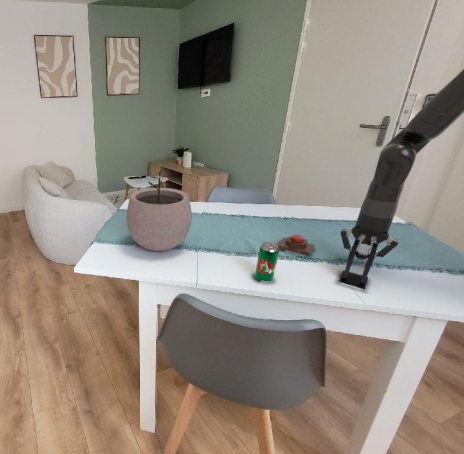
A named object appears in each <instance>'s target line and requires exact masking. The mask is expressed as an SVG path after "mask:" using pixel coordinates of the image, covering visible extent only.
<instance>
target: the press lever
mask: <svg viewBox="0 0 464 454" xmlns="http://www.w3.org/2000/svg"><path fill="white" fill-rule="evenodd" d="M370 251H371V246H369V245H367V244H360V245H359V247H358V249H357V250H356V253H355V256H354V257H356V258H357V259H358V260H362V261H365V260H367V259H368V257H369V254H370Z"/></svg>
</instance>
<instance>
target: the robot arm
mask: <svg viewBox="0 0 464 454" xmlns="http://www.w3.org/2000/svg"><path fill="white" fill-rule="evenodd" d="M463 114H464V68H463V69H462V70H461V71H460V72H459V73H458V74H457V75H456V76H455V77H454V78H453V79H451V80H450V81H449V82H448V83H447V84H445V86H444V87H442V89H440V90H439V91H438V92H437V93H436V94H435V95H434V96H433V97H432V98H430V100H429V101H428V102H427V103H426V104H425V105H424V106H422V108H420V110H419V111H418V112H417V113H416V114H415V115H414V116H413V118H412V119H411V120H410V121H409V122H408V123H407V124H406V126H405V127H404V128H403V129H402V130H401V131H399V133H397V134H396V135H395V136H394V137H393V138H392V139H390V141H389V142H388V143H387V144H386V145H385V146H384V147H383V148H382V149H381V150H380V152H379V156H378V160H377V162H376V163H377V164H376V167H375V171H374V175H373V178H372V179H371V181H370V184H369V186H368V189H367V192H366V195H365V197H364V199H363V201H362V204H361V207H360V210H359V213H358V216H357V219H356V223H355V225H354V227H352V228H351V229H346V228H342V229H341V231H340V237H341V242H342V245H343V248H344V249H345V250H348V251H349V253H348V256H347V260H348V259H349V256H350V253H351V249H350V246H351V245H352V244H350V239H349V237H350V236H351V235H352V236H353V237H354V239H357V240H360V241H359V244H358V247H357V249H359V247H360V244H362V245H367V246H371V247H370V250H369V253H370V252H371V249H372V246H373V243H376V244H378V245H380V244H381V243H383V242H385V241H386V245H385V246H384V247H383V248H382V249H381V250H378V251H379V252H378V254H377V255H375V256H374V259H373V262H372V264H371V266H373V264H374V260H375V258H376V257H377V258H384V257H385V256H387V254H389V253H390V252H391V251H393V250H394V249H395V248H396V247H397V246H398V245H399V240H398V239H396V238H392V237H390V233H389V231H390V228H391V226H392V223H393V220H394V218H395V215H396V213H397V210H398V206H399V200H400V199H401V196H402V193H403V190H404V186H405V182H406V181H407V178H408V176H410V173H411V171H412V168H413V167H414V164H415V161H416V159H417V155H418V154H419V153H420V152H421V151H422V150H423V149H424V148H425V147H426V146H427V145H428V144H429V143H430V142H431V141H432V140H434V139H436V138H438V137H439V136H441V135H442V134H443V133H444V132H445V131H447V129H449V127H451V126H452V125H453V124H454V123H455V122H456V121H457V120H458V119H459V118H460V117H461V116H462V115H463ZM367 260H368V258H367V259H366V262H365V265H364V267H365V266H366V263H367Z"/></svg>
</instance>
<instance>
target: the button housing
mask: <svg viewBox="0 0 464 454" xmlns="http://www.w3.org/2000/svg"><path fill="white" fill-rule="evenodd" d="M291 237H292V235H291V236H287V237H282V239H281V240H280V241H279V242H278V243H276V244H277V245H278V246H279V247H278V248H279V251H281V252H286V251H287V252H292V253H295V254H299V255H303V256H305V257H309V256H310V255H311V253H312V251H313V250H314V248H315V244H312V243H309V242H308V240H307V239H306V238H304V239H303V242H302V243H296V242H293V241H291Z"/></svg>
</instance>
